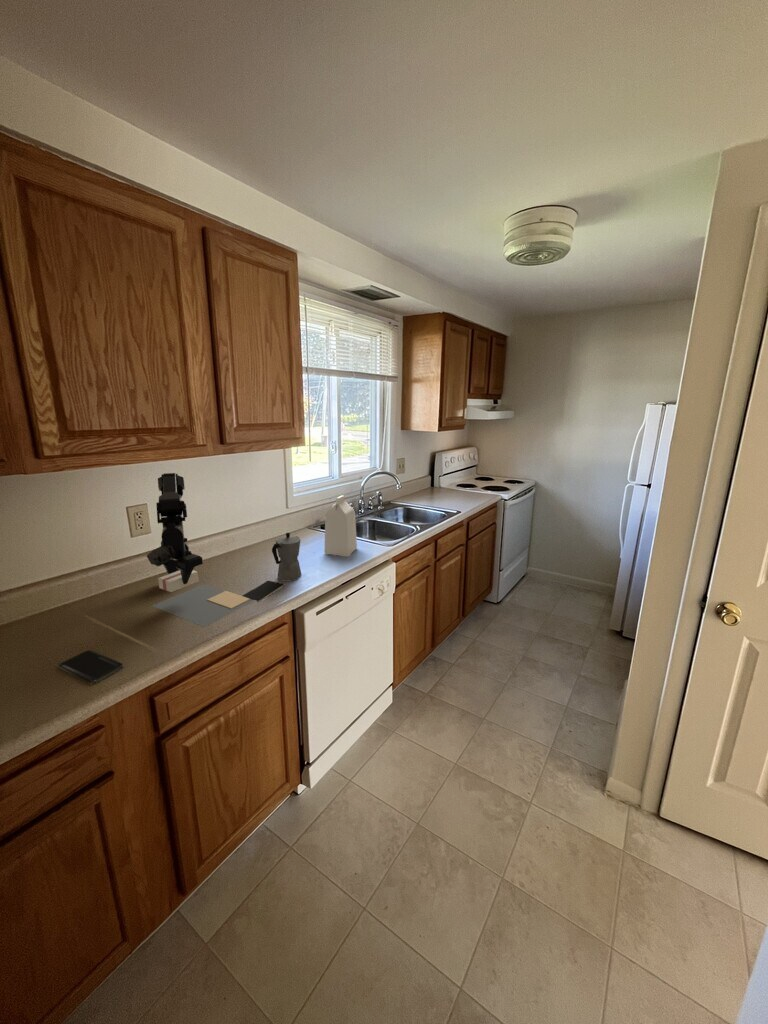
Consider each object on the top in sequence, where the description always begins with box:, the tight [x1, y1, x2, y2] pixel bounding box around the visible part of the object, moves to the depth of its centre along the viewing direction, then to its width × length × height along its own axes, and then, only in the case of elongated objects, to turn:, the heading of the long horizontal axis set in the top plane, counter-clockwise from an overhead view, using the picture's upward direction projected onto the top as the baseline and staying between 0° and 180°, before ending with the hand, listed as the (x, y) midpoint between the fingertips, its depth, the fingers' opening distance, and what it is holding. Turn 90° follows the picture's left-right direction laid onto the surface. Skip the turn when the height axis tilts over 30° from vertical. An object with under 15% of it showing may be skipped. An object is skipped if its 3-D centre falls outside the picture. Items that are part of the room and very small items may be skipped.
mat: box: [151, 583, 255, 628], centre depth 138 cm, size 26×20×1 cm
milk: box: [323, 495, 358, 557], centre depth 189 cm, size 12×12×26 cm
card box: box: [157, 569, 200, 593], centre depth 135 cm, size 10×6×4 cm, turn 151°
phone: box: [58, 649, 124, 684], centre depth 104 cm, size 8×1×15 cm
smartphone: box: [242, 580, 285, 603], centre depth 149 cm, size 8×1×15 cm
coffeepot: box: [271, 532, 302, 581], centre depth 159 cm, size 15×9×18 cm, turn 153°
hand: (179, 581), depth 135 cm, fingers closed on card box, 6 cm apart
